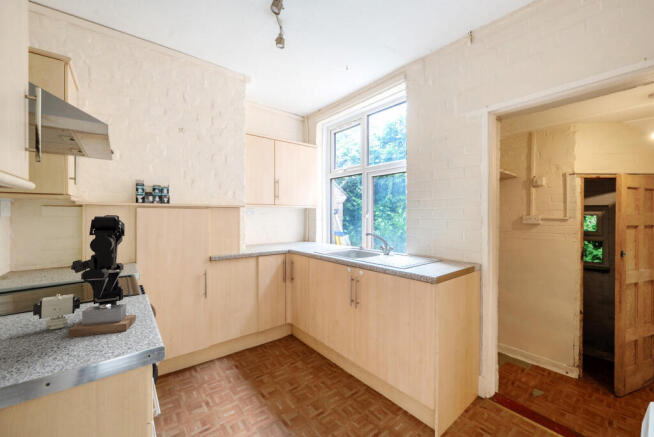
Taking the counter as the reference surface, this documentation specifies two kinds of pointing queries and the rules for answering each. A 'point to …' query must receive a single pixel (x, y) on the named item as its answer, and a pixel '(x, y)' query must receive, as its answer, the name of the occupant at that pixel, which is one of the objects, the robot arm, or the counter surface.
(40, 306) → the pneumatic valve
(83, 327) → the walnut stand
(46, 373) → the counter surface
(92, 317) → the housing
